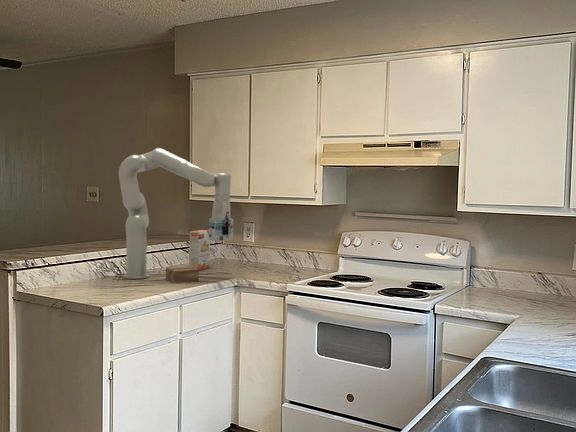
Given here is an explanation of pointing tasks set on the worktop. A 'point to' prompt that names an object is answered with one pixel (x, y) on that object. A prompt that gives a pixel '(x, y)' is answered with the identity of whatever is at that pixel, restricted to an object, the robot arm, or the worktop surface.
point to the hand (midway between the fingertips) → (221, 233)
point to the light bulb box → (219, 230)
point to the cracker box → (199, 249)
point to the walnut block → (182, 274)
